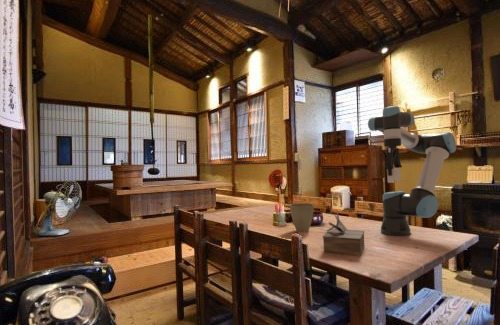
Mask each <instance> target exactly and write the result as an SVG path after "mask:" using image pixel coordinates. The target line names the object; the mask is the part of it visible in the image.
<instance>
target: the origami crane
mask: <svg viewBox="0 0 500 325" xmlns="http://www.w3.org/2000/svg"><path fill="white" fill-rule="evenodd" d="M333 215H334V217H335V219H336V224H334V223H332V222H330V221H329V222H327V225H329V226H330V227H329V228H328V229H326V230H325V232H327V231H329V230H331V229H336V230H338V231H339V232H340V233H341V234H343V232H345V230H348V228H347V227H346V226H345V224H344V223H343V222H342V221H341V220H340V217H339V213H338V210H336V213H333Z"/></svg>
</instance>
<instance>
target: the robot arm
mask: <svg viewBox="0 0 500 325" xmlns="http://www.w3.org/2000/svg"><path fill="white" fill-rule="evenodd" d="M400 109H401V108H400V107H399V106H396V105H392V106H391V105H390V106H387V107H386V106H385V107H384V108H383V109H382V115H379V116H373V117H370V118H369V119H368V121H367V122H368V123H367V127H368V129H369V130H370V131H372V132H374V131H375V132H377V131H379V132H381V133H382V135H383V138H384V140H383V146H384V147H385V148H386V158H385V167H384V169H385V170H386V174H387V176H386V177H387V183H388V184H391V183H393V184H394V183H395V181H400V182H401V180H402V179H401V168H402V167H403V166H402V164H401V157H400V149H399V147H401V146H403V147H404V148H406V149H407V150H409V151H412V152H414V153H418V154H424V155H425V154H426V156H425V157H426V158H425V160H424V163H423V165H422V168H421V171H420V174H419V178H418V180H417V182H416V186H415V187H413V188H412V189H411V191H410V193H409V194H408V193H407V192H406V191H405V190H401V191H400V190H399V191H388V192H384V193H383V194H382V211H383V212H382V214H383V220H382V223H381V226H380V233H382V234H385V235H389V236H390V235H391V236H408V235H410V234H411V228H410V225H409V223H408V222H409V221H408V220H407V216H408V217H414V218H415V217H416V218H421V219H423V218H427V219H428V218H429V219H431V218H432V217H433V216H434V215H435V214H436V213H437V211H438V209H439V201H438V199H437V196H436V194H435V193H434V192H435V188H436V186H437V183H438V180H439V176H440V174H441V171H442V168H443V164H444V161H445V160H446V159H448V158H449V156H450V153H452V154H453V153H455V152H456V150H457V142H456V137H455V135H454V134H453V133H452V132H447V131H446V132H435V133H427V134H425V133H424V134H417V133H413V132H409V131H408V130H406V129H404V128H409V127H412V126H413V124H414V123H415V116H414V115H413V114H412V113H411V112H408V111H405V112H404V111H401V110H400Z"/></svg>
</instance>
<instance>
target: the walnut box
mask: <svg viewBox="0 0 500 325" xmlns="http://www.w3.org/2000/svg"><path fill="white" fill-rule="evenodd" d="M325 232H326V233H324V234H323V235H322V238H323V253H325V254H335V255H345V256H354V257H361V256H362V253H363V252H364V249H365V230H359V229H347V230H345V232H343V234H341V233H340V232H339V231H338V230H336V229H335V228H333V229H331V230H329V231H325Z"/></svg>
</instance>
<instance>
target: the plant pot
mask: <svg viewBox="0 0 500 325" xmlns="http://www.w3.org/2000/svg"><path fill="white" fill-rule="evenodd" d="M314 208H315V204H313V203H304V202H299V203H292V204H289V211H290V216H291V219H292V221H293V226H294V228H295V230H296V232H299V233H307V232H309V230H310V227H311V224H312V220H313V216H314V211H315V210H314Z"/></svg>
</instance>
